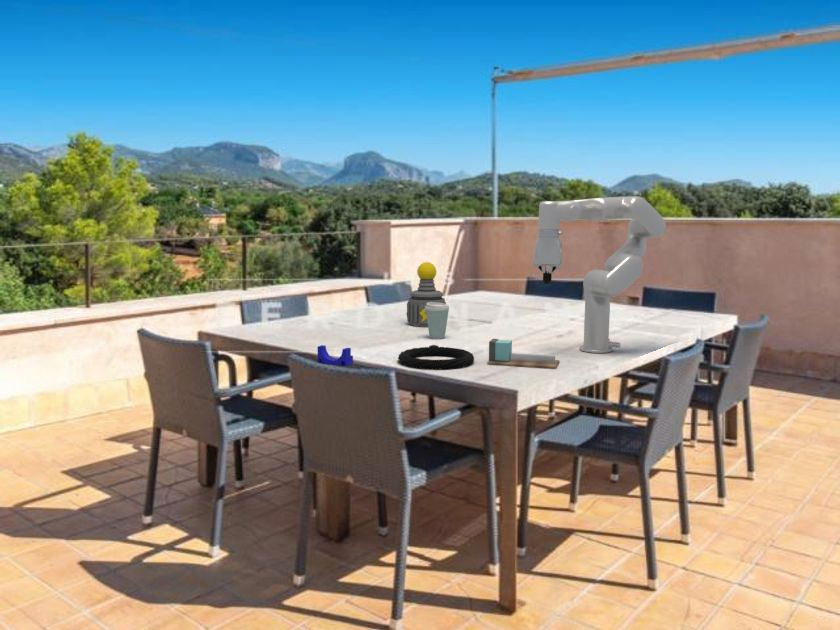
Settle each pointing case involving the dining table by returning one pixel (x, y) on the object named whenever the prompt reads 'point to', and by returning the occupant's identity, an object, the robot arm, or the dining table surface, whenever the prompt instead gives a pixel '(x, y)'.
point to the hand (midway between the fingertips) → (547, 283)
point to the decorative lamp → (423, 296)
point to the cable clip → (326, 358)
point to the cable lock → (460, 361)
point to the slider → (503, 350)
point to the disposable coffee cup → (437, 319)
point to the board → (524, 364)
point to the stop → (492, 349)
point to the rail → (532, 358)
